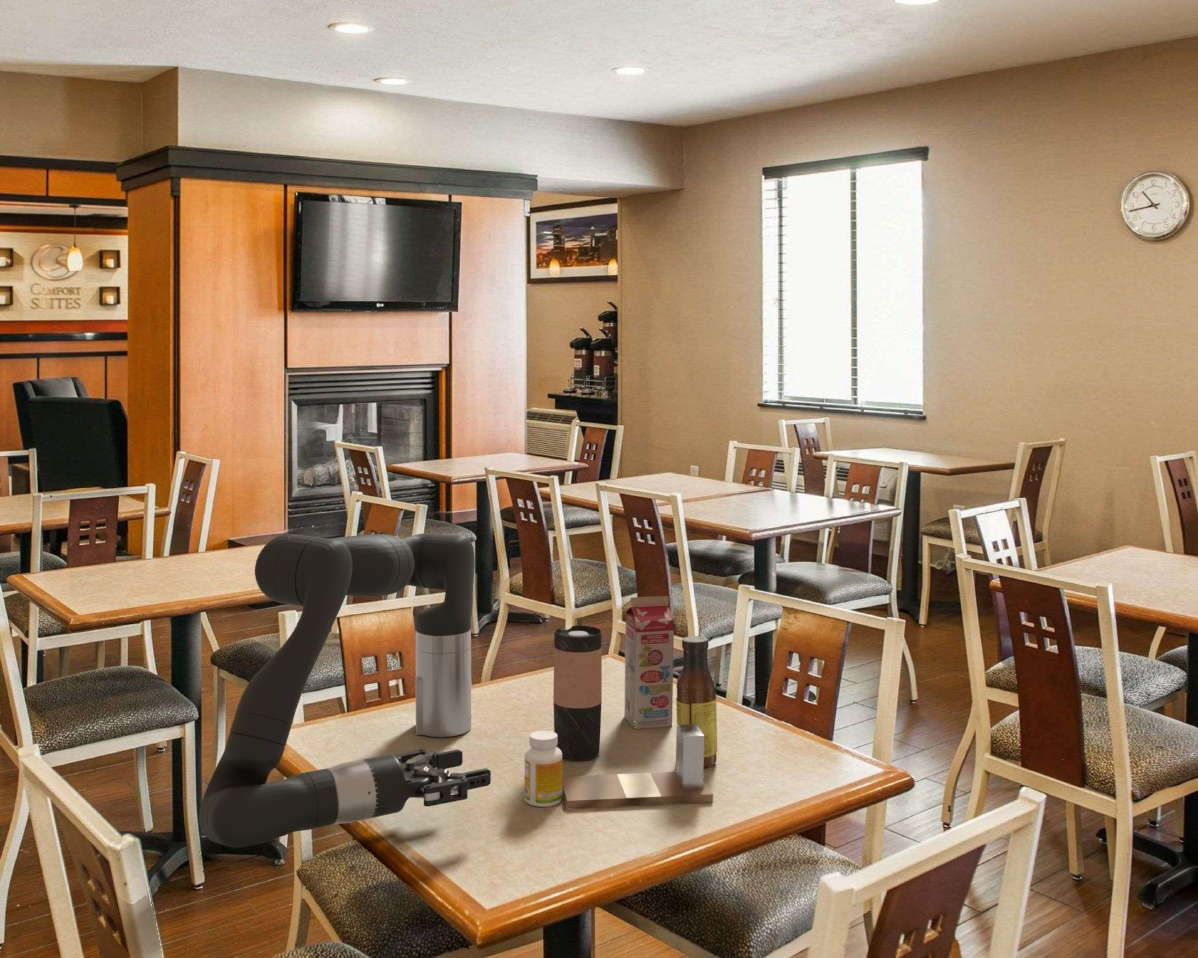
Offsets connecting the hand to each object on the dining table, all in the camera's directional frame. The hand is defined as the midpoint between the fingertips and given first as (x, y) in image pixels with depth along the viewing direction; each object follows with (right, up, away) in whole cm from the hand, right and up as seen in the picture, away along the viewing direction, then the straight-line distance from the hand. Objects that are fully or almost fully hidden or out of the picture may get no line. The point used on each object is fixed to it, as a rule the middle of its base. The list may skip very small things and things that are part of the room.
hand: (475, 766), depth 158 cm
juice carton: (+25, -3, +42) cm, 49 cm away
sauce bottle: (+32, -5, +22) cm, 40 cm away
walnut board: (+22, -6, +10) cm, 25 cm away
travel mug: (+14, -5, +26) cm, 30 cm away
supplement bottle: (+9, -7, +7) cm, 13 cm away
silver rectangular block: (+30, -5, +11) cm, 33 cm away
